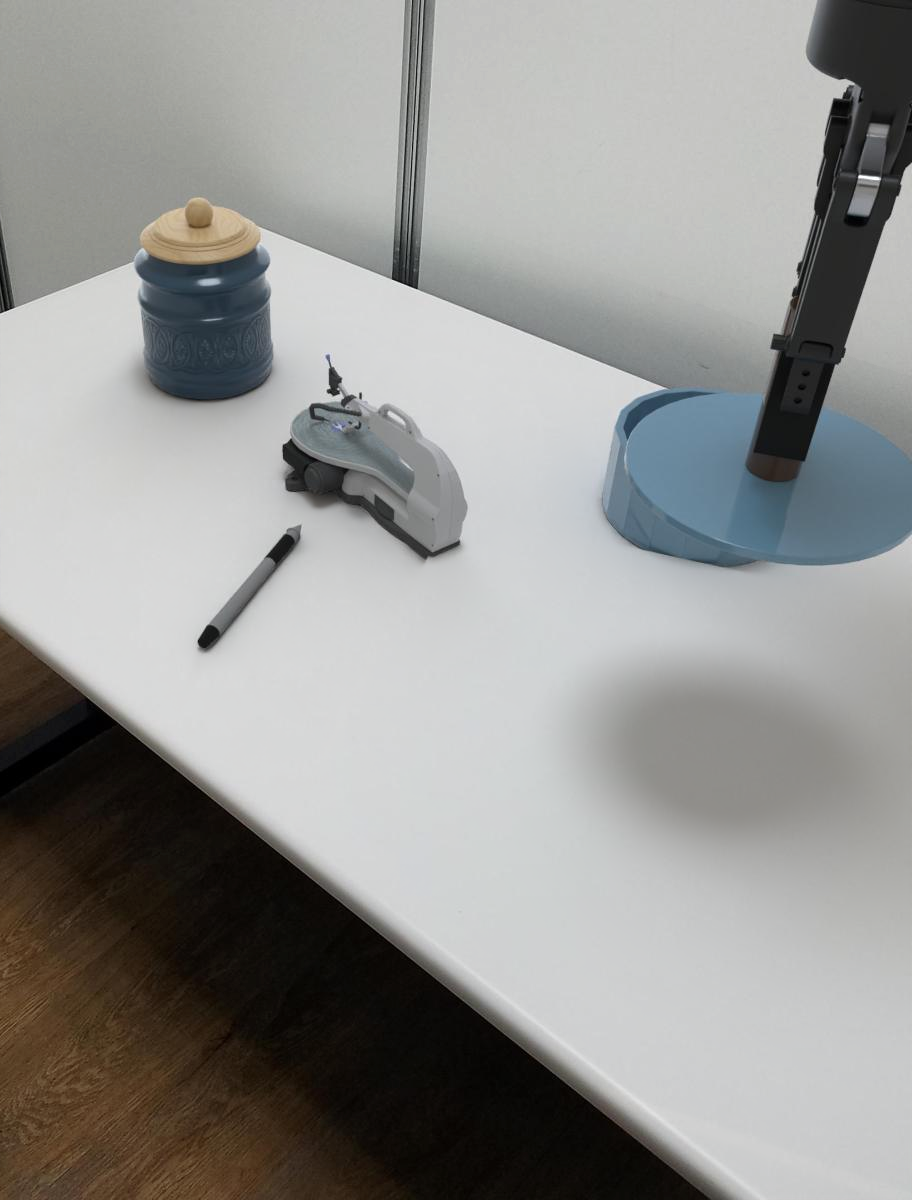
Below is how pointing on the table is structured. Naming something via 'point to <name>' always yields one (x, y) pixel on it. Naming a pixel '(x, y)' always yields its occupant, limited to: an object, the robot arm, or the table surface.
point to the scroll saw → (378, 468)
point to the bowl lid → (771, 481)
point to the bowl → (629, 508)
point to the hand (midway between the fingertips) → (782, 435)
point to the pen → (248, 588)
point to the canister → (204, 302)
